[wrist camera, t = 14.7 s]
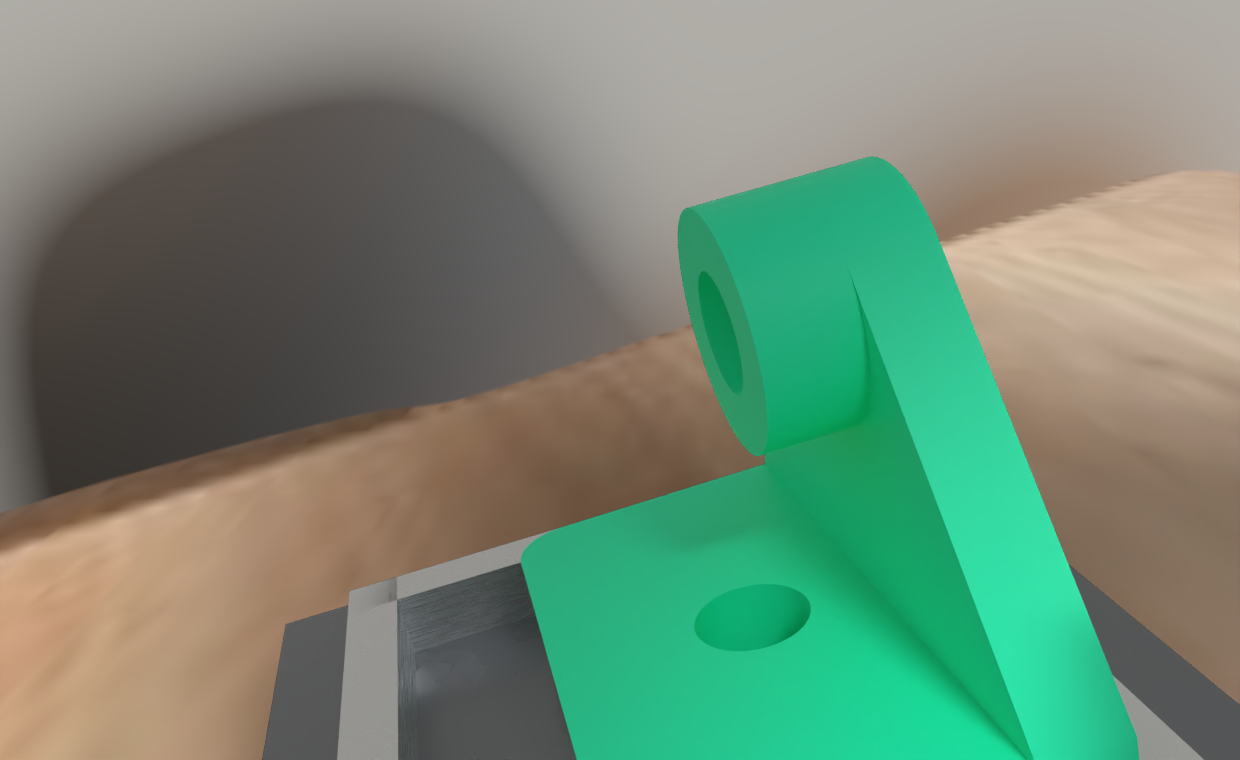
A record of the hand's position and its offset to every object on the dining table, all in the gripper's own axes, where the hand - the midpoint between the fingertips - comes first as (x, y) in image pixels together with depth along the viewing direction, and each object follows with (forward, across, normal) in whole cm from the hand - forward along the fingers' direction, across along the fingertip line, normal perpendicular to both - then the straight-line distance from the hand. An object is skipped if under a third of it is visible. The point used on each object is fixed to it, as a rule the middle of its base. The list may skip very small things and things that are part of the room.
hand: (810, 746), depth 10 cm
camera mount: (+10, +2, -8) cm, 13 cm away
